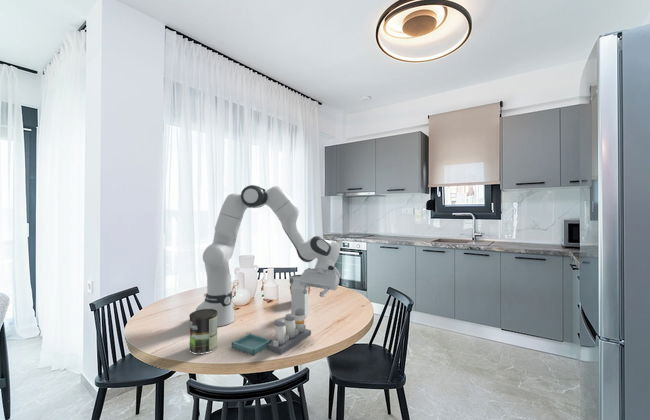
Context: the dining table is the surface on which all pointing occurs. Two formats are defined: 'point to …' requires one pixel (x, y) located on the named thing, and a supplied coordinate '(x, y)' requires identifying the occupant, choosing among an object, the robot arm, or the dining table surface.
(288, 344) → the fuse block
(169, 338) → the dining table surface
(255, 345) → the tray
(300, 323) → the marked fuse
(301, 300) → the milk carton
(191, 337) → the coffee can
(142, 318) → the dining table surface
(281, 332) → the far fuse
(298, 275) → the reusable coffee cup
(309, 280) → the robot arm
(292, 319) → the middle fuse
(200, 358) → the dining table surface
